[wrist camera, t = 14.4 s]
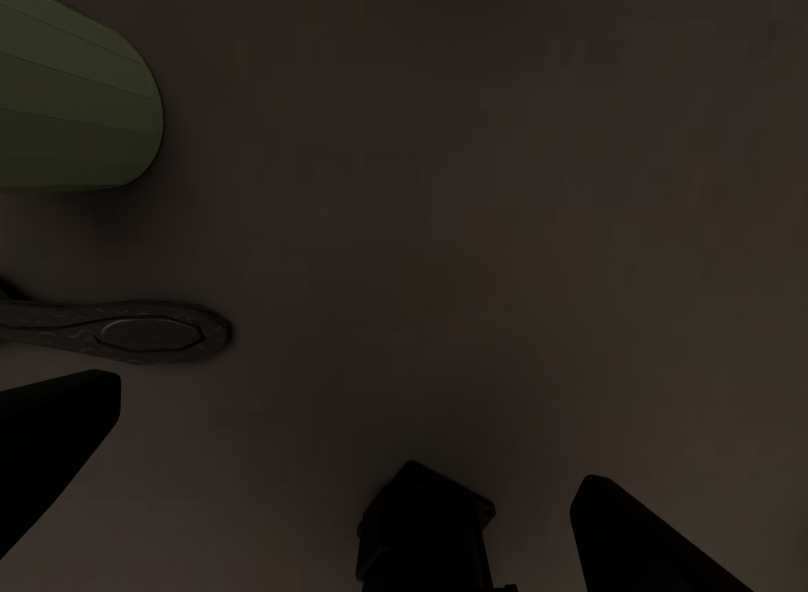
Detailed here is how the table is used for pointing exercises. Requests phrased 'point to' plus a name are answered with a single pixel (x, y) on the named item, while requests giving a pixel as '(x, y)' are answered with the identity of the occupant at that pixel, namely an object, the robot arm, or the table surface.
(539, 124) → the table surface
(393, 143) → the table surface
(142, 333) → the hairbrush
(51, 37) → the pen cup
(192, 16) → the table surface
